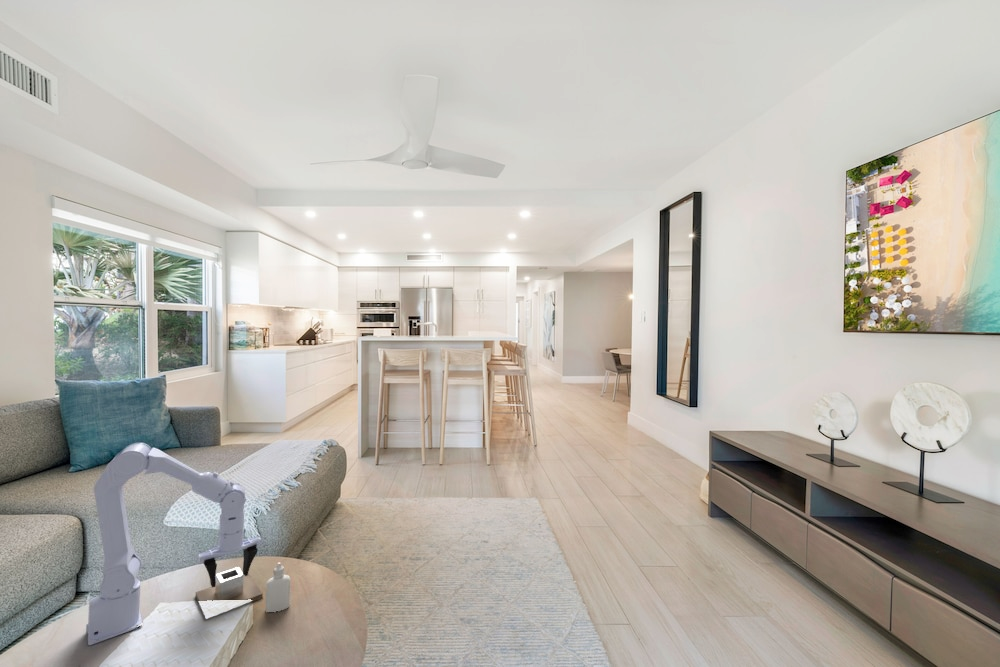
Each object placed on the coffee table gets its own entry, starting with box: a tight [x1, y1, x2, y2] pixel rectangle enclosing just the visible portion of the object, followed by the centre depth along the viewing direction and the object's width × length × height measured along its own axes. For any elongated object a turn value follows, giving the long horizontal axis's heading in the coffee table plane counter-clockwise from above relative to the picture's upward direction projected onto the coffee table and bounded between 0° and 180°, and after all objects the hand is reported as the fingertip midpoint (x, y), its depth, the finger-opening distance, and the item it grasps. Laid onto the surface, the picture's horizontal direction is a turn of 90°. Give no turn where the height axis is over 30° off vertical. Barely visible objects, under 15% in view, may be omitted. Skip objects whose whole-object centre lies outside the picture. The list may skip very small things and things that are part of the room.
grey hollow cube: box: [215, 566, 244, 600], centre depth 114 cm, size 5×5×5 cm
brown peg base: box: [195, 573, 264, 602], centre depth 113 cm, size 13×13×5 cm
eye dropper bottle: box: [265, 562, 291, 613], centre depth 109 cm, size 4×6×12 cm
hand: (229, 579), depth 113 cm, fingers open, 7 cm apart
